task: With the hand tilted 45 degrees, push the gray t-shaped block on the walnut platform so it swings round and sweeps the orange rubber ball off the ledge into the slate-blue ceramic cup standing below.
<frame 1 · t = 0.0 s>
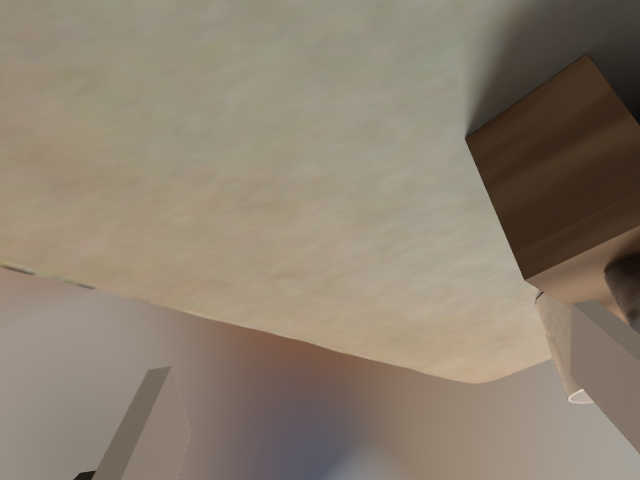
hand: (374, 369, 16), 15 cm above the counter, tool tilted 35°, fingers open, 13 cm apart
white cup: (567, 292, 50), on the counter
platform: (615, 131, 30), on the counter
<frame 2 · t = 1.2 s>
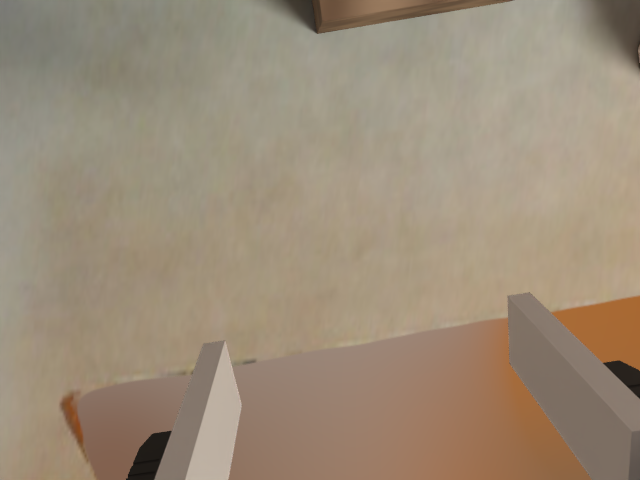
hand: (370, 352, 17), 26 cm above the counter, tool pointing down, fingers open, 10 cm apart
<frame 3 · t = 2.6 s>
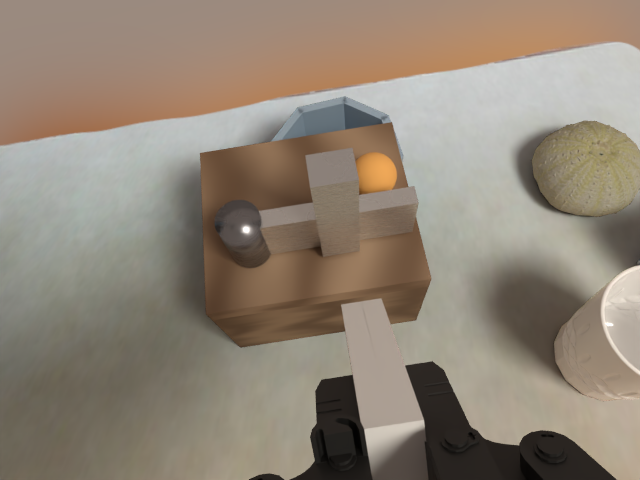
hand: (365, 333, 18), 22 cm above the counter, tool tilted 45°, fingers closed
ball: (373, 175, 33), point 12 cm above the counter, touching platform
cup: (338, 192, 46), on the counter
white cup: (596, 357, 38), on the counter
platform: (317, 263, 44), on the counter
sea urchin shell: (576, 181, 45), on the counter
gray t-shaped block: (315, 206, 29), point 15 cm above the counter, hinge at 0.0°
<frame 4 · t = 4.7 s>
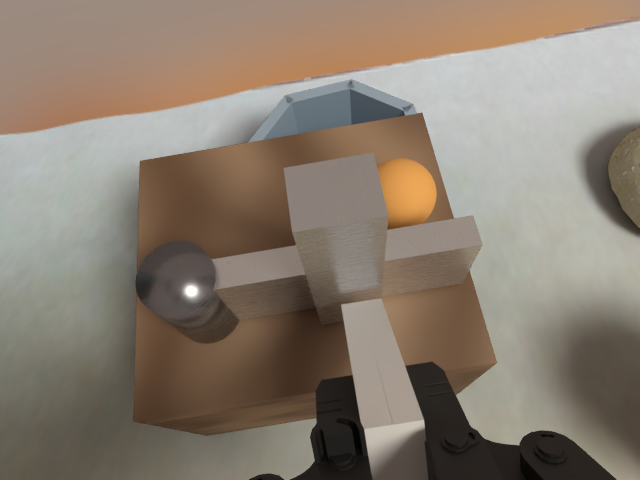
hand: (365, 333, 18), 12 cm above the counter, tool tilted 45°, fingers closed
ball: (399, 194, 21), point 12 cm above the counter, touching platform
cup: (343, 210, 34), on the counter
platform: (315, 311, 31), on the counter
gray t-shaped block: (306, 252, 17), point 15 cm above the counter, hinge at 0.1°, touching gripper
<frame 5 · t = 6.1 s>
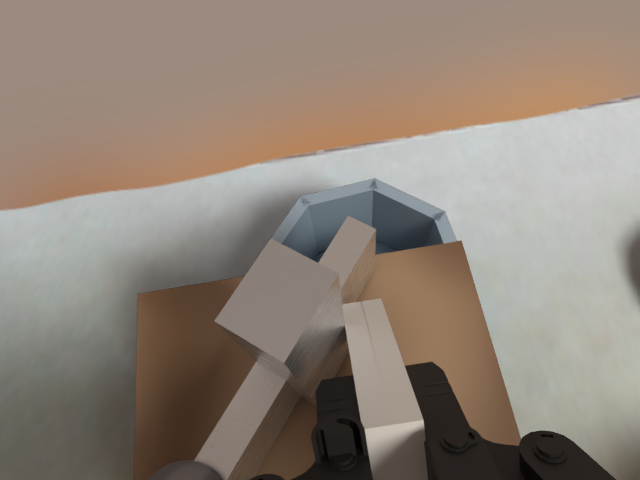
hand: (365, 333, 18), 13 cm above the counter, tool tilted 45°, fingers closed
cup: (362, 310, 31), on the counter
platform: (333, 432, 28), on the counter
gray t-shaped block: (269, 366, 15), point 15 cm above the counter, hinge at 51.2°, touching gripper
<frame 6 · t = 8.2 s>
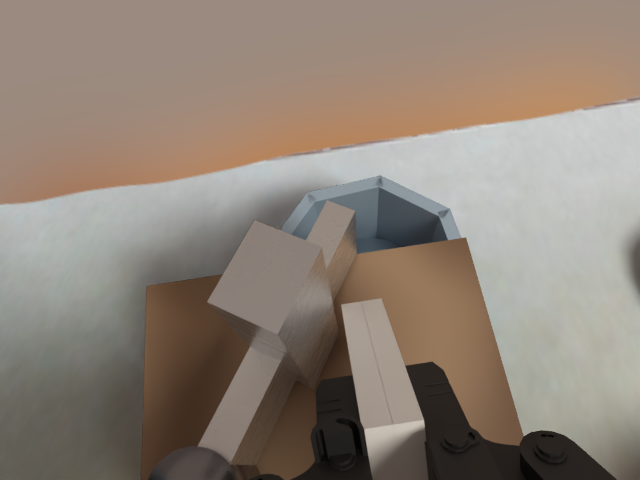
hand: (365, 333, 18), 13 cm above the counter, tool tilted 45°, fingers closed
cup: (366, 306, 32), on the counter
platform: (336, 426, 29), on the counter
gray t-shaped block: (263, 349, 16), point 15 cm above the counter, hinge at 57.2°
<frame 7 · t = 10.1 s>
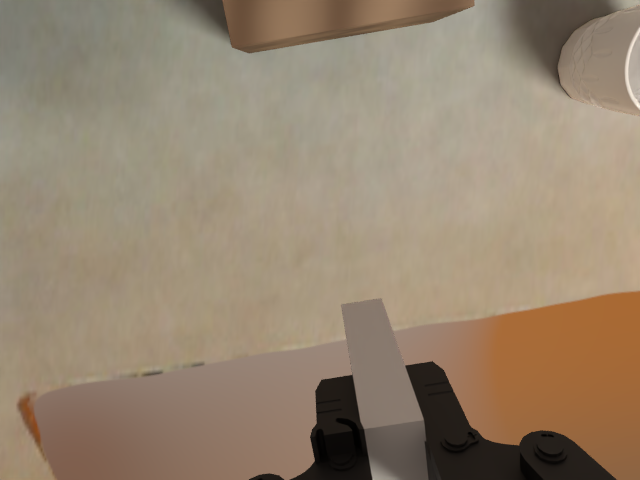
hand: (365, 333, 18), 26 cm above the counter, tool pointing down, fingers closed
white cup: (595, 61, 40), on the counter
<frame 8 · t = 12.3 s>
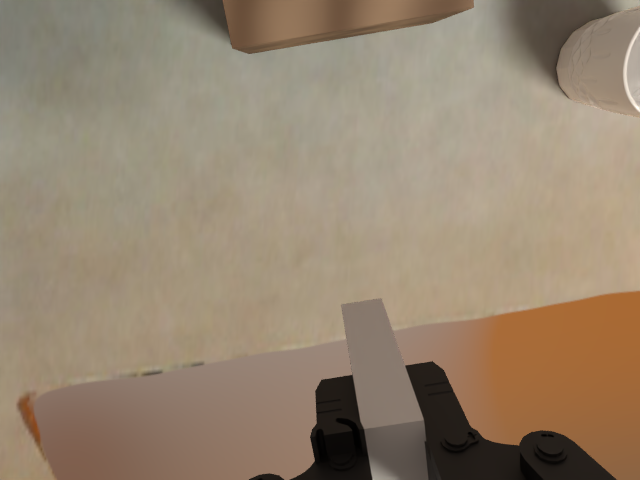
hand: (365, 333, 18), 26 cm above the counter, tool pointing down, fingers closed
white cup: (594, 62, 41), on the counter
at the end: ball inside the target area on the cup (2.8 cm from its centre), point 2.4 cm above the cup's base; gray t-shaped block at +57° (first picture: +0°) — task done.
